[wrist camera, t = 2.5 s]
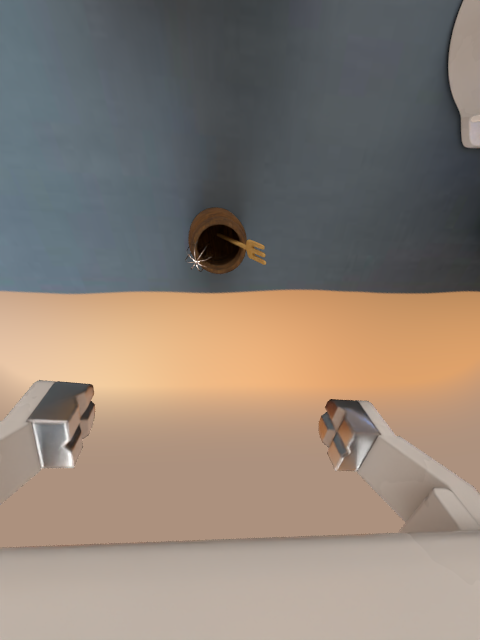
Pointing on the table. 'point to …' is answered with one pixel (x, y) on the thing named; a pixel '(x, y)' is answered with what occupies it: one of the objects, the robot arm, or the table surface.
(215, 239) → the utensil holder
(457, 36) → the robot arm
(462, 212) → the table surface
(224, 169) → the table surface
